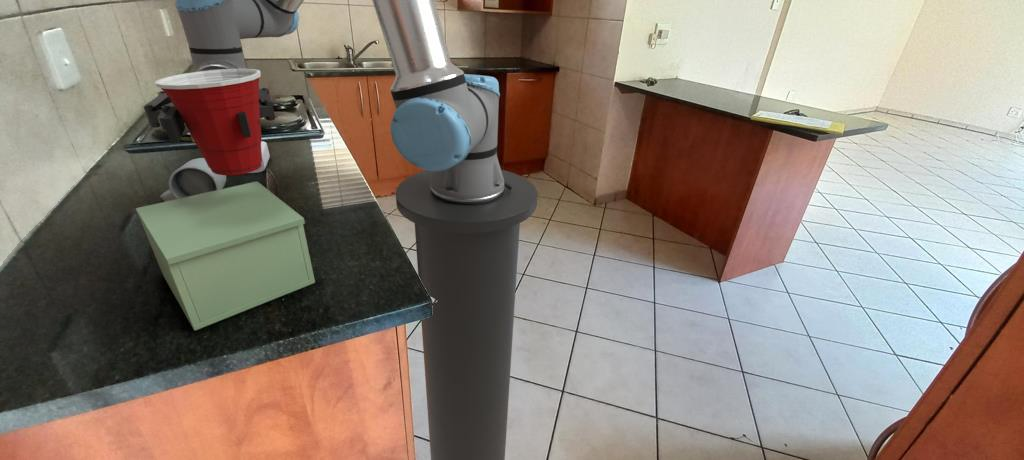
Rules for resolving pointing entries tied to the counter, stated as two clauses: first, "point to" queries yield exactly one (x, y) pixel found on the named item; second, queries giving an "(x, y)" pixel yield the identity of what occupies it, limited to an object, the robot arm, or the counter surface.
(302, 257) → the bin
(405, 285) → the counter surface
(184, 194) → the ceramic mug
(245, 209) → the bin lid
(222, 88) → the plastic cup
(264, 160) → the charger
